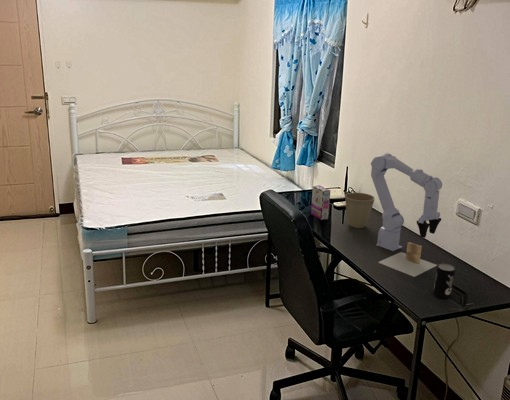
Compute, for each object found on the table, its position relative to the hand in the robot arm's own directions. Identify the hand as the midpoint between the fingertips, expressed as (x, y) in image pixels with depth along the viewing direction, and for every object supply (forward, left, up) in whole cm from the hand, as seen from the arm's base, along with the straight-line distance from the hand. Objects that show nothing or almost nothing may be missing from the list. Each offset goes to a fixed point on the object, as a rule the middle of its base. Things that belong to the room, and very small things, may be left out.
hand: (427, 235), depth 221 cm
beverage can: (+24, -27, -11) cm, 37 cm away
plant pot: (-44, +9, -11) cm, 47 cm away
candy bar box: (-66, +4, -11) cm, 67 cm away
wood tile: (0, -9, -10) cm, 14 cm away
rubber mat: (0, -13, -11) cm, 17 cm away
